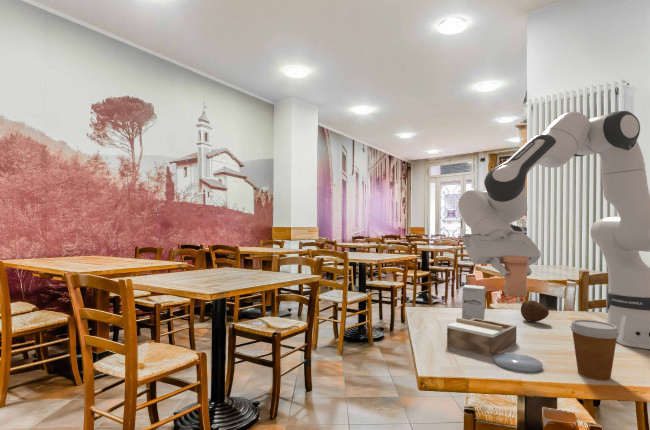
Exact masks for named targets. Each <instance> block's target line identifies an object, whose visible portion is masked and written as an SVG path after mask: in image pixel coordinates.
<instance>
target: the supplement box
mask: <svg viewBox="0 0 650 430" xmlns="http://www.w3.org/2000/svg"><path fill="white" fill-rule="evenodd" d="M461 297H462V301H461V302H462V305H461V310H462V312H461V319H466V320H470V319H472V318H476V319H482V320H485V311H486V309H485V308H486V306H485V305H486V286H483V285H474V284H473V285H471V284H464V285H463V286H462V296H461Z"/></svg>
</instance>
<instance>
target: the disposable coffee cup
mask: <svg viewBox="0 0 650 430" xmlns="http://www.w3.org/2000/svg"><path fill="white" fill-rule="evenodd" d="M569 328H570V330H571V333H572V338H573V344H574V345H573V347H574V353H575V359H576V368H577V373H578V375H580V376H582V377H584V378H587V379H591V380H596V381H609V380H611V377H612V370H613V365H614V358H615V351H616V346H617V342H616V339H617V337H618V335H619V332H618V330H617V327H616V326H614V325H612V324H609V323H606V321H605V322H603V321H598V320H590V319H574V320H572V322H571V324H570V326H569Z"/></svg>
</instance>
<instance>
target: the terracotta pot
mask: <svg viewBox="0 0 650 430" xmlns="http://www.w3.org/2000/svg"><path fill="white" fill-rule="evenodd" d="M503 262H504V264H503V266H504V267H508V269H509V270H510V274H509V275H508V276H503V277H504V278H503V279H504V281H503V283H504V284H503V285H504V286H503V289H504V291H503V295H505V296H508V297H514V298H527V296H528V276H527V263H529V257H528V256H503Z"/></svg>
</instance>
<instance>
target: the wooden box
mask: <svg viewBox="0 0 650 430" xmlns="http://www.w3.org/2000/svg"><path fill="white" fill-rule="evenodd" d="M470 320H471V321H477V322H482V323H487V324H492V325H497V326H502V333H501V334H499V335H497V336H495V337H493V338H492V337H487V336H482V335H478V334H473V333H469V332H464V331H460V330H455V329H450V328H447V327H446V328H447V329H446V333H447V334H446V346H449V347H453V348H456V349H457V348H458V349H462V350H465V351H469V352H473V353H476V354H481V355H485V356H489V357H493V358H494V355H496V354H499V353H503V351H505V350H506V349H508V348H510V347H512V346H513V345H514V344H517V326H516V325H514V324H513V325H512V324H507V323H504V322H503V323H502V322H497V321H491V320H486V319H484V320H482V319H476V318H472V319H470Z"/></svg>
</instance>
